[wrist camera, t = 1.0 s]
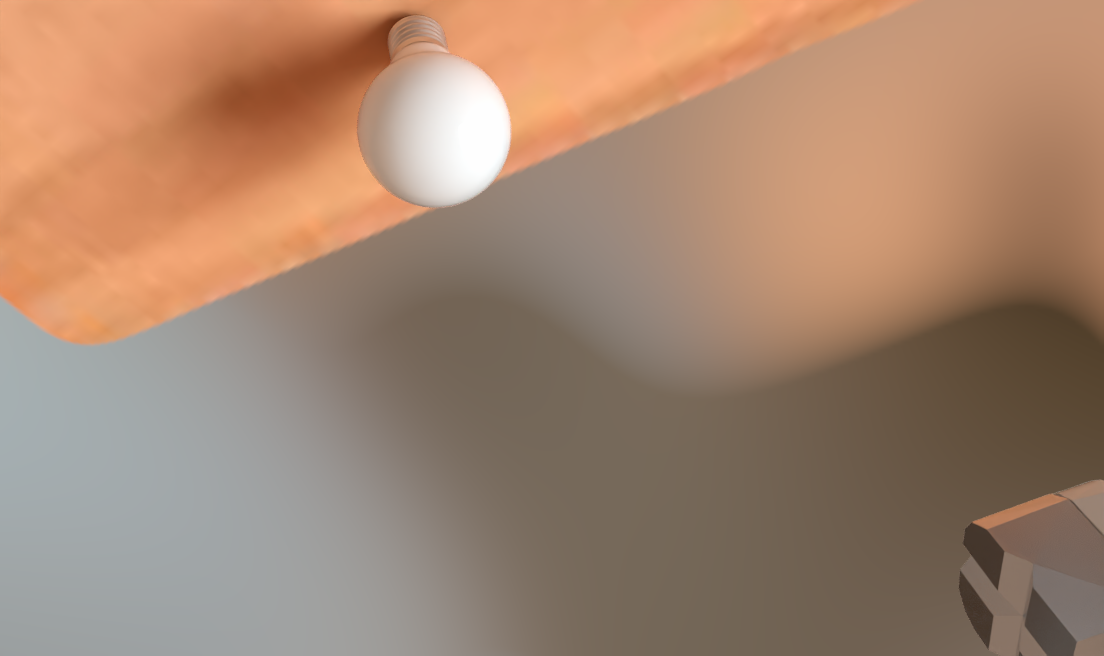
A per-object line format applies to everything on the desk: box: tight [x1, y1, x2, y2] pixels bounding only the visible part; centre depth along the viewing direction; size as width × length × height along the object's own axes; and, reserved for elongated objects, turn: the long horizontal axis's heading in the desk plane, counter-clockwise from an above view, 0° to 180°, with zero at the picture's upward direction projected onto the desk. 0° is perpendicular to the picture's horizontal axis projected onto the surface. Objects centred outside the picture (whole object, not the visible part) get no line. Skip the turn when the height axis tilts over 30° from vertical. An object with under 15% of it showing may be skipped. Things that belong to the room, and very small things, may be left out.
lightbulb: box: [357, 15, 511, 208], centre depth 43 cm, size 6×6×11 cm
